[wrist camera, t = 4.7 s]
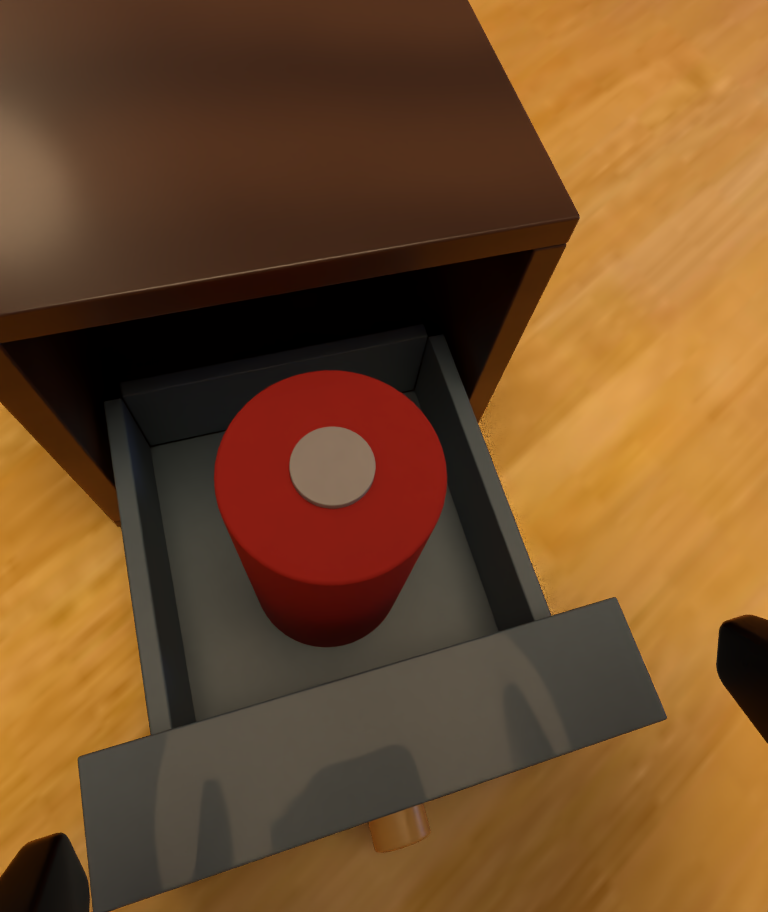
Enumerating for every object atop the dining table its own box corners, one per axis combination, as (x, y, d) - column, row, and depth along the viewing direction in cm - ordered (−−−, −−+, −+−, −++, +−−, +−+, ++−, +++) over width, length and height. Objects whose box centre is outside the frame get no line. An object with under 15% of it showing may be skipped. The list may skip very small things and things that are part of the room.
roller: (307, 679, 18) (298, 634, 11) (227, 555, 20) (166, 435, 12) (428, 590, 20) (497, 493, 12) (345, 480, 21) (360, 327, 13)
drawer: (590, 760, 19) (689, 767, 14) (166, 907, 17) (98, 982, 12) (448, 380, 24) (483, 282, 19) (104, 453, 21) (37, 364, 16)
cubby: (468, 444, 23) (582, 217, 13) (117, 527, 21) (-73, 327, 11) (387, 227, 27) (427, -81, 17) (83, 277, 25) (-83, -45, 15)
